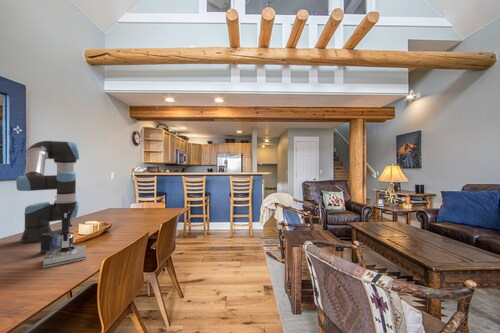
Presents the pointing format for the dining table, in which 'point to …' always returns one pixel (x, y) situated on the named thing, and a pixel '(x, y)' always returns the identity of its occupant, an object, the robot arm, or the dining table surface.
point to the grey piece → (64, 256)
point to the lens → (69, 243)
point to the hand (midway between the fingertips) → (66, 243)
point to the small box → (50, 241)
